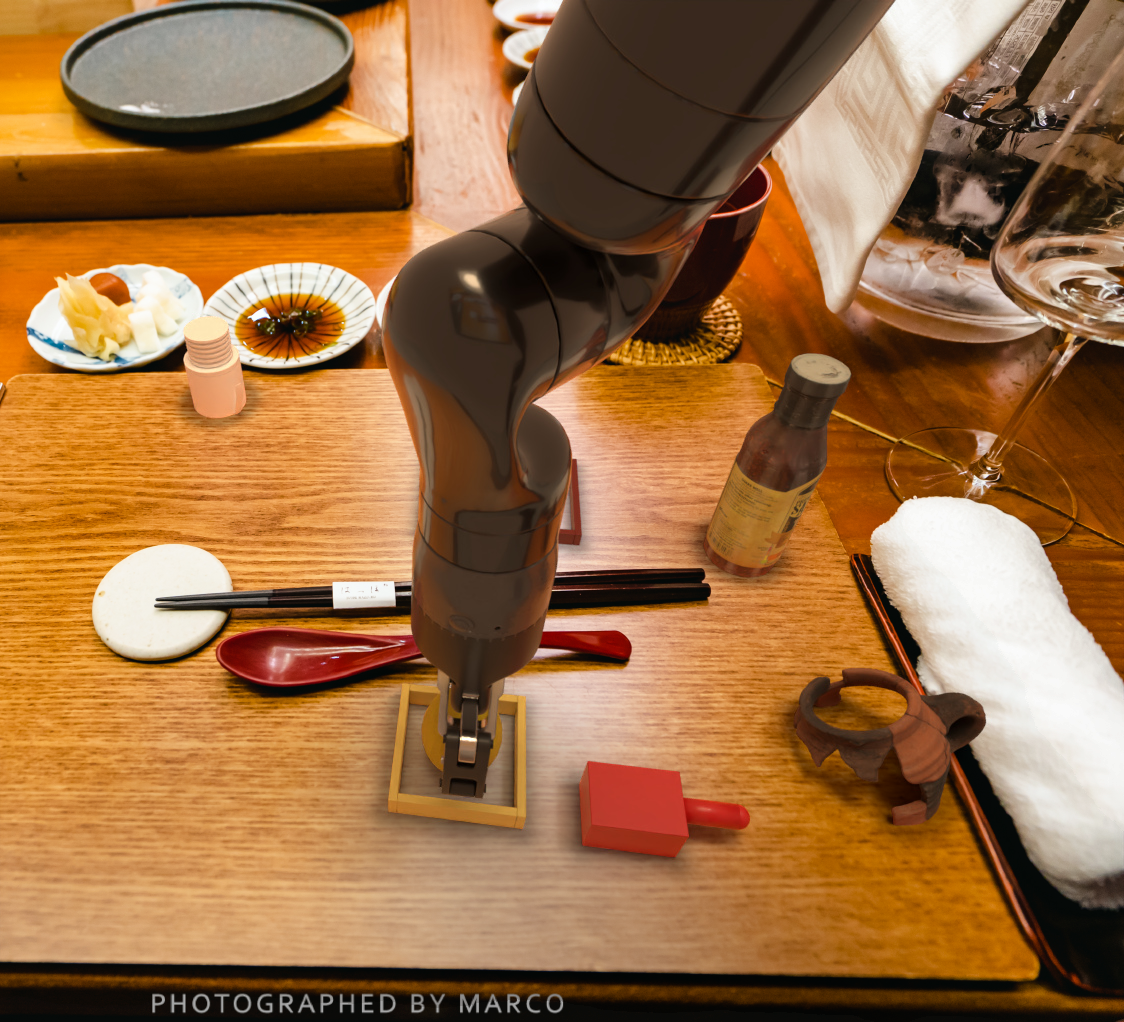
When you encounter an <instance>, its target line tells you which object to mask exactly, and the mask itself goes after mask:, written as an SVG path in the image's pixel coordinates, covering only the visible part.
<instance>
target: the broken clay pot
mask: <svg viewBox="0 0 1124 1022" xmlns="http://www.w3.org/2000/svg"><path fill="white" fill-rule="evenodd" d="M841 677H842V679H841V680H836V681H833V682H831V678H830V677H829V676H817V677H815V678H814V679H812V680H810V681H809V682H808V684H807V685H806V686H805V687H804V688H802V691H801V693H800V694H799V698H798V704H799V706H798V708H797V709H796V711H795V713H794V717H793V728H794V729H795V733H796V734H795V735H796V736H797V738H798V739H799V740H800V741H802V743H803V744H804V745H805V746H806V748H807V750H808V753H809V754H810V756H811V759H812V761H813V763H814V764H815V766H816V768H817V769H818V768H821V767H822V765H823V762H825V760H826V759H827V758H828V757H830V756H831V755H833V754H834V752H836V751H838V754H839V757H840V759H841V760H842V761H843V762H844V764H845V765H847V767H849V768H850V769H851V770H853V772H854V773H855V775H856V776H857V777H858V778H859V779H860V780H863V781H866V782H870V783H877V782H879V769H880V768H881V767H882V765H883V764H884V761H885V759H886V757H887V755H888V754H889V753H890V752H891V750H892V751H893V752H894V754H895V756H896V757H897V759H898V762H899V767H900V772H901V775H902V777H903V778H904V779H905V780H906V781H907V782H908V783H909V784H911V785H919V786H918V787H919V788H920V792H921V796H920V798H919V799H917V800H914V801H912V802H908V803H907V804H902V805H898V806H893V807H892V808H891V811H890V813H891V816H892V824H893V825H894V826H916V825H917V826H918V825H920V824H923V823H925V822H926V821H929V820H930V819H931V818H932V817H934V816H935V814H937V811H938V809H939V807H940V805H941V799H942V797H943V796H942V795H943V793H944V788H945V785H946V783H947V777H948V775H949V772H950V767H951V760H952V759H951V758H952V754H953V753H954V752H955V751H957V750H959V749H961V748H963V747H965V746H967V745H968V744H970V743H972V742H973V741H974V740H975V739H976V738H977V737H978V736H979V735H980V734H981V733H982V732H984V729H985V727H986V725H987V717H986V714H987V713H986V712H985V708H984V706H983V705H982V704H981V703H980V702H979V701H977V700H976V699H974V698H973V697H971V696H970V695H968V694H966V693H962V692H956V691H955V692H953V691H952V692H944V693H938V694H932V695H925V694H920V693H919V691H918V690H917V688H915V687H914V685H913V684H912V683H910V682H909V681H908V680H906V679H904V678H903V677H901V676H900V675H899V676H898V675H897V674H895V673H891V672H888V671H885V670H881V669H878V668H870V667H848V668H844V669H843V668H842V670H841ZM852 687H853V688H854V687H873V688H880V689H884V690H889V691H892V692H894V693H897V694H899V695H900V696H902V697H903V699H905V700H906V703H907V706H906V710H905V712H903V713H904V714H903V715H902V716H900V718H899V719H897V720H895V721H894V722H892V723H891V724H888V725H887V726H886V727H881V728H876V729H870V730H850V729H843V728H839V727H836V726H833V725H831V724H829V723H827V722H826V721H824V720H822V719H821V718H819V716H817V715H816V713H815V711H814V705H815V706H816V707H818V708H820V709H822V708H829V707H835V706H837V705H839V703H840V702H841V701H842V695H841V690H842V689H846V688H852Z"/></svg>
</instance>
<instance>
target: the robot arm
mask: <svg viewBox="0 0 1124 1022" xmlns="http://www.w3.org/2000/svg"><path fill="white" fill-rule="evenodd" d="M896 1H897V0H562V1H561V3H560V5H559V7H558V10H557V12H556V14H555V16H554V18H553V20H552V22H551V24H550V26H549V28H548V30H547V33H546V34H545V36H544V39H543V40H542V43H541V45H540V48H539V50H538V52H537V55H536V57H535V58H534V60H533V62H532V64H531V67H530V69H529V71H528V73H527V76H526V77H525V80H524V82H523V85H522V87H521V89H520V92H519V94H518V96H517V99H516V102H515V105H514V108H513V111H512V113H511V117H510V121H509V125H508V130H507V136H506V137H507V138H506V159H507V166H508V167H507V168H508V172H509V174H510V178H511V179H510V180H511V181H512V184H513V187H514V188H515V190H516V192H517V194H518V196H519V198H520V199H521V200H522V202H521V203H520V204H518V205H517V207H515V208H513V209H511V210H509V211H506V212H505V213H503V214H500V215H498V216H495V217H493V218H491V219H489V220H486V221H484V222H481V223H480V224H477V225H474V226H473V227H470V228H468V229H466V230H463V231H461V232H459V233H457V234H454V235H452V236H449V237H446V238H445V239H442V240H440V241H438V242H435V243H433V244H432V245H429V246H427V247H426V248H423V249H422V250H420V251H419V252H417V253H416V254H415V255H413V256H412V257H411V258H410V259H409V260H408V261H406V263H405V264H404V265H403V266H402V267H401V268H400V270H399V271H398V273H397V275H396V276H395V278H394V280H393V282H392V283H391V286H390V289H389V291H388V293H387V296H386V299H385V303H384V306H383V312H382V316H381V322H380V323H381V325H380V337H381V347H382V352H383V355H384V359H385V363H386V366H387V369H388V372H389V375H390V378H391V380H392V382H393V383H392V384H393V385H394V387H395V391H396V394H397V395H398V398H399V399H398V400H399V401H400V405H401V407H402V411H403V413H404V417H405V421H406V425H407V428H408V431H409V436H410V438H411V441H412V444H413V448H414V451H415V454H416V458H417V460H418V465H419V473H418V474H419V475H418V507H417V509H418V510H417V511H418V513H417V522H416V527H415V531H414V535H413V542H412V552H411V589H410V591H411V592H410V593H411V594H410V629H411V635H412V638H413V641H414V643H415V645H416V647H417V649H418V650H419V652H420V654H421V655H422V656H423V657H424V658H425V659H426V661H427V662H429V664H431V665H432V666H433V667H435V668H436V669H437V679H436V687H438V689H439V691H440V693H441V694H440V707H439V719H438V732H439V734H440V735H441V736H443V743H445V749H444V756H441V764H443V772H442V776H441V777H442V778H439V783H438V788H440V789H441V790H440V794H441V795H446V796H451V797H459V798H468V799H470V798H472V799H478V800H479V799H480V800H483V799H484V795H485V794H486V793H487V783H486V782H487V775H488V769H489V767H488V764H489V757H490V750H491V749H493V743H494V740H493V739H494V738H495V734H496V723H497V712H498V701H499V698H500V697H501V696H502V695H503V694H505V693H504V692H505V683H506V681H505V680H506V678H508V677H510V676H513V675H514V674H516V673H517V672H519V671H521V670H522V669H524V668H525V667H526V666H527V665H528V664H529V663H530V662H531V661H532V660H533V658H534V657H535V655H536V653H537V652H538V650H539V648H540V645H541V641H542V637H543V634H544V633H543V632H544V628H545V623H546V619H547V615H548V610H549V606H550V602H551V597H552V593H553V588H554V584H555V580H556V576H557V575H556V574H557V569H558V564H559V544H558V539H559V531H560V529H561V526H562V522H563V517H564V512H565V508H566V504H567V499H568V495H569V492H570V490H569V486H570V480H571V471H572V459H573V451H572V446H571V441H570V438H569V435H568V434H567V431H566V430H565V427H564V426H563V425H562V423H561V422H560V421H559V420H558V418H557V417H556V416H555V415H553V414H552V413H551V412H549V411H548V410H547V409H545V408H543V407H541V406H540V405H537V404H536V403H535V402H537V401H538V400H540V399H541V398H543V397H544V396H546V395H548V394H550V393H551V392H553V391H555V390H557V389H558V388H560V387H562V386H563V385H565V384H567V383H568V382H570V381H572V380H574V379H576V378H577V377H579V376H580V375H583V374H584V373H586V372H587V371H589V370H591V369H592V368H594V367H595V366H597V365H599V364H600V363H602V362H603V361H605V360H606V359H608V358H609V357H610V356H611V355H612V354H614V353H615V352H616V351H617V350H619V349H620V348H622V346H623V345H625V344H626V342H628V341H629V340H630V339H631V338H632V337H633V336H634V335H635V333H637V332H638V330H640V328H641V327H642V326H644V324H645V323H646V322H647V321H648V320H649V318H650V317H651V316H652V315H653V314H654V312H655V311H656V310H657V308H658V307H659V306H660V304H661V303H662V302H663V300H664V299H665V297H666V296H667V293H668V292H669V290H670V289H671V287H672V286H673V284H674V282H675V280H676V279H677V278H678V276H679V274H680V272H681V270H682V269H683V267H684V265H685V263H686V262H687V260H688V259H689V257H690V255H691V254H692V252H693V250H694V249H695V246H696V245H697V242H698V241H699V238H700V236H701V235H702V232H703V229H704V227H705V226H706V223H707V221H708V220H709V219H710V218H711V217H712V216H713V215H714V214H715V213H716V212H717V211H719V209H720V208H721V207H722V206H723V205H724V204H725V203H726V202H727V201H728V199H730V198H731V196H732V195H733V194H734V193H735V192H736V191H737V190H738V189H739V188H740V187H741V186H742V185H743V184H744V182H745V181H746V180H747V179H748V178H749V177H750V176H751V174H753V172H754V171H755V170H756V169H757V167H758V166H759V165H760V164H761V163H762V161H764V159H766V157H767V156H768V155H769V154H770V152H772V150H773V149H774V148H775V147H776V145H778V143H779V142H780V141H781V140H782V139H783V138H784V136H785V135H786V134H787V133H788V132H789V131H790V129H791V128H792V127H793V126H794V125H795V124H796V123H797V121H798V120H799V119H800V118H801V116H803V114H804V113H805V112H806V111H807V110H808V109H809V108H810V107H811V105H812V104H813V103H814V101H815V100H816V99H817V98H818V97H819V95H821V93H822V92H823V91H824V90H825V89H826V87H828V85H829V84H830V83H831V82H832V80H833V79H834V78H835V77H836V76H837V74H839V72H840V71H841V70H842V69H843V67H844V66H845V65H846V64H847V63H848V61H850V59H851V58H852V56H853V55H854V54H855V53H856V52H857V50H858V49H859V48H860V47H861V46H862V44H864V42H865V41H866V40H867V38H868V37H869V36H870V35H871V33H872V32H873V31H874V29H875V28H877V26H878V24H879V23H880V21H881V20H882V19H883V18H884V17H885V15H886V14H887V13H888V12H889V10H890V9H891V7H892V6H893V5H894V3H895V2H896ZM450 688H451V694H450V703H451V706H452V708H453V709H454V710H455V711H456V712H458V713H461V718H454V717H451V716H450V715H449V713H448V701H449V689H450ZM487 710H488V713H487V717H486V718H485V719H483V720H478V715H482V714H484V713H485V712H486V711H487ZM1115 1022H1124V1018H1122V1019H1119V1020H1116V1021H1115Z"/></svg>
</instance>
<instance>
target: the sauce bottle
mask: <svg viewBox="0 0 1124 1022" xmlns="http://www.w3.org/2000/svg"><path fill="white" fill-rule="evenodd" d="M784 374H785V375H784V379H783V383H784V385H783V387H782V389H781V391H780V393H779V396H778V399H777V400H776V401H775V402H774V404H773V409H772V410H771V411H770V412H769V413H767V414H765V415H763V416H761V417H760V418H758V419H757V420H756V421H755V422H754V423H753V424H752V425H751V426H750V427H749V429H748V430H747V432H746V433H745V437H744V439H743V442H742V444H741V447H740V449H739V451H738V453H736V455H735V458H734V460H733V463H732V466H731V468H730V471H729V474H728V476H727V478H726V481H725V483H724V486H723V487H722V491H721V493H720V496H719V498H718V501H717V504H716V505H715V508H714V512H713V514H712V517H711V518H710V522H709V524H708V526H707V530H706V531H705V532H706V533H705V534H706V536H705V538H704V541H703V549H704V552H705V554H706V556H707V557H708V558H709V560H711V562H712V563H713V564H714V565H715V566H716V567H717V568H718V569H719V570H721V571H724V572H726V573H728V574H731V575H733V576H737V577H739V578H753V577H754V578H755V577H759V576H764V575H765V576H766V574H768V572H770V571H771V570H772V568H773V567H774V566H775V564H776V563H777V562H778V561H779V560H780V559H781V557H782V554H783V552H784V551H785V548H786V546H787V545H788V542H789V541H790V538H791V536H792V534H793V533H794V531H795V529H796V527H797V525H798V523H799V521H800V519H801V517H802V515H803V513H804V511H805V510H806V507H807V506H808V504H809V502H810V499H811V497H812V494H814V491H815V489H816V487H817V485H818V483H819V481H820V479H821V477H822V475H823V473H824V471H825V469H826V467H827V463H828V423H829V421H830V418H831V415H832V412H833V410H834V408H835V406H836V405H837V402H838V399H839V397H841V396H842V395H843V394H844V393H846V390H847V387H848V385H849V382H850V381H851V377H852V373H851V370H850V367H848V366H847V365H846V364H845V363H843V362H842V361H841V360H838V359H836V358H835V357H832V356H829V355H826V354H821V353H803V354H799V355H797V356H794V357H793V359H791V360H790V363H789V365H788V367H787V370H786V372H785V373H784Z"/></svg>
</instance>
